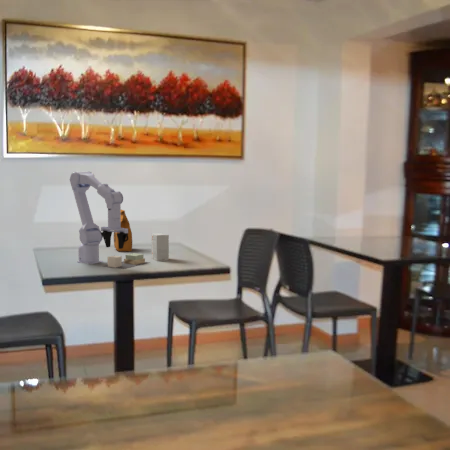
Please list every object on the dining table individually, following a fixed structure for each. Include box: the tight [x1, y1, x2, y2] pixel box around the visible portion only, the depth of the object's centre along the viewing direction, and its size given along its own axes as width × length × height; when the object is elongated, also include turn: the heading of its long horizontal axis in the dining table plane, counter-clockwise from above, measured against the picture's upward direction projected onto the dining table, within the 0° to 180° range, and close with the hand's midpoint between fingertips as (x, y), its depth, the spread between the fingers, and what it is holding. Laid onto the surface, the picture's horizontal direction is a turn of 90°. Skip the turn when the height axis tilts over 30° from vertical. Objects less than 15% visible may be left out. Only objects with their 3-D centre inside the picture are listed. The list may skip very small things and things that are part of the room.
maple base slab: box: [123, 257, 146, 265], centre depth 279 cm, size 7×7×2 cm
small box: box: [151, 232, 170, 262], centre depth 290 cm, size 8×6×13 cm
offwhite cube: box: [107, 255, 123, 268], centre depth 270 cm, size 4×4×4 cm
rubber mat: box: [103, 260, 151, 270], centre depth 275 cm, size 13×20×1 cm, turn 150°
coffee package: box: [113, 209, 133, 252], centre depth 320 cm, size 10×12×22 cm
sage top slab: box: [125, 252, 144, 260], centre depth 279 cm, size 6×6×2 cm
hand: (114, 247), depth 269 cm, fingers open, 7 cm apart
